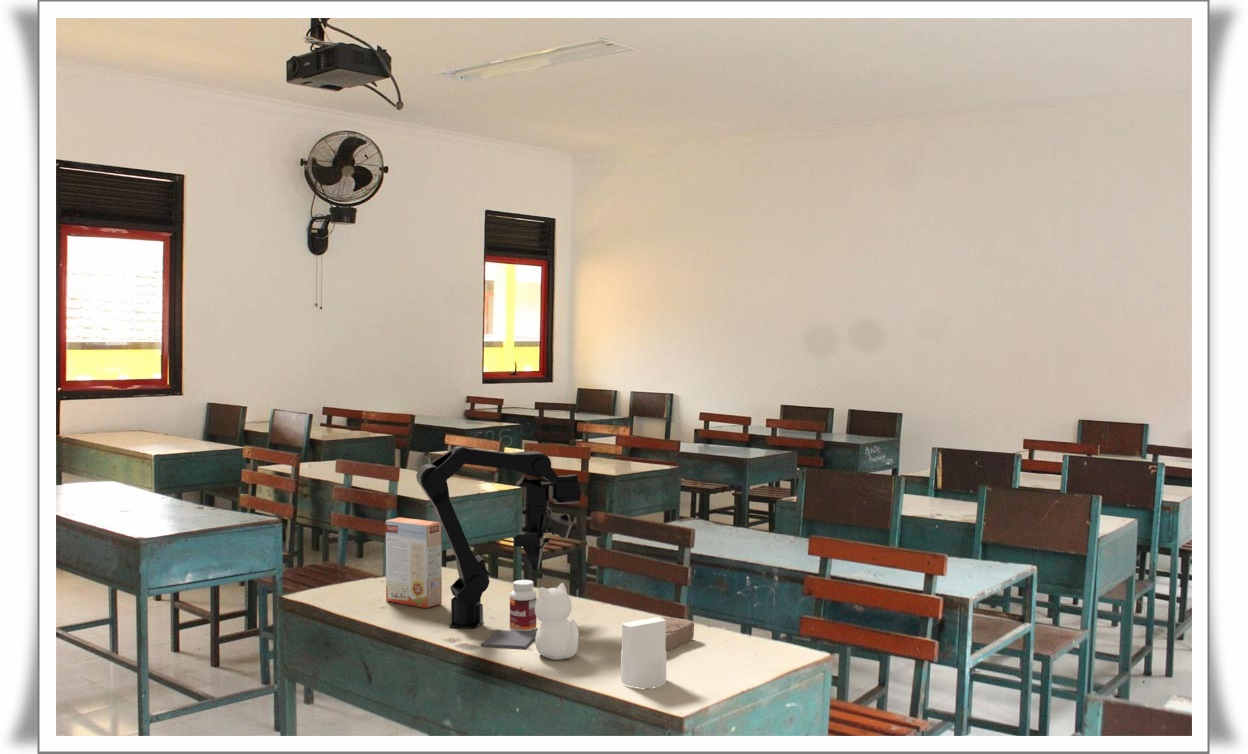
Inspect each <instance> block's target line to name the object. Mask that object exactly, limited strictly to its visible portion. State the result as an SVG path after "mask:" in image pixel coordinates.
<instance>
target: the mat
mask: <svg viewBox="0 0 1248 754" xmlns="http://www.w3.org/2000/svg"><path fill="white" fill-rule="evenodd" d="M536 633H537V631H530V632H525V631H512V630H503V629H502V630H501V629H500V630H499V629H495V630H493V632H492V633H490V634H489V635H488V636H487V637H486V638H485V639H484V640H483V641H482V642H481V643H480V644H481V645H480V647H482V648H483V647H485V648H489V647H490V648H500V649H501V648H504V649H519V648H521V649H523V650H526V649H527V648H528V647H529V646H530V645H531V643H532V642H533V641H534V640H536V638H535V637H536ZM521 649H520V650H521Z"/></svg>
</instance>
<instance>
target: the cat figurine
mask: <svg viewBox="0 0 1248 754" xmlns="http://www.w3.org/2000/svg"><path fill="white" fill-rule="evenodd" d="M572 610H573V605H572V599H571V598H570V596H569V594H568V593H567V588H566V585H565V583H564V582H561V583H560V584H559V585H558V586H557V587H550V588H545V587H540V588H539V589H538V596H537V601H536V604H535V614H536V619H537V620H539V621H540V622H541V623H540V625H539V627H538V629H537V630H536V632H537V633H536V638H535V648H536V650H537V653H538V654H540V655H541V656H542V657H545V658H548V659H550V660H556V661H561V660H565V659H570V658H572V657H573V656H575V655H576V654H577V651H578V647H579V628H578V624H577V622H576V620H575V619H571V620H568V618H569V617H570V615H571V613H572Z"/></svg>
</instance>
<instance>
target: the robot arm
mask: <svg viewBox="0 0 1248 754" xmlns="http://www.w3.org/2000/svg"><path fill="white" fill-rule="evenodd" d="M465 465H470V466H472V465H473V466H480V467H490V468H497V469H505V470H512V471H515V472H518V473H521V474H524V475H522V476H521V477H520V479H518V481H516V483H515V485H516V486H518V487H520V488H524V499H523V500H524V501H523V502H524V508H523V509H522V510H521V514H522V515H523V519H524V520H523V522H524V523H523V526H521V531H520V532H519V533H518V534H516V535H515V537H513V546H514V547H522V548H523V551H524V552H525V554H526V557H527V559H528V561H529V564H530V565H531V568H532V570H533V571H538V570H539V568H540V564H541V560H542V556H543V551H544V548H545V546H546V545H547V544H548V543H549V542H550V541H552V538H551V537H550V538H548V537H546V535H545V534H548V533H551V535H553V536H555V535H557V536H559V537H560V538H562V539H565V538H567V537H568V536H569V534H570V532H571V529H572V527H573V521H571V516H570V514H568V513H566V512H565V513H563V514H562V515H560V516H559V515H554V514H552V509H551V507H549V499H550V500H551V501H553V503H554V504H555V505H560V504H561V505H563V504H577V503H580V501H581V497H582V490H581V486H580V482H579V476H578V475H577V474H568V475H558V474H557V473H556V472H555V471H554V469H553V468H552V461H551V459H550V457H549V456H548V455H546V454H545V453H542V452H539V451H537V450H523V451H518V452H517V451H516V452H506V451H505V452H504V451H498V450H489V449H481V448H475V447H466V446H462V445H456V446H454V447H452V448H451V450H449V451H448V452H446V453H445V454H443V455H442V456H441V455H440V457H439V458H437V459H435V460H433V461H432V462H431V463H426V464H423V465H422V466H421V467H419V468H418V470H417V471H416V474H415V475H416V476H415V477H416V481H417V483H418V485H419V486H420V488H421V489H422V490H423V492H424V494H425V495H426V497H427V498H428V500H429V501H430V502H431V504H432V505H433V508H434V510H435V512H436V514H437V517H438V520H439V522H441V527H442V529H443V530H444V533H445V535H446V537H447V540H448V542H449V544H450V547H451V549H452V551H453V554H454V557H455V561H456V568H457V573H458V578H457V579H456V580H455V581H454V583H452V585H450V588H449V589H450V590H451V594H452V596H453V598H451V600H450V601H451V603H450V611H451V612H450V614H451V615H450V619H451V620H450V621H451V622H450V623H449V624H448V627H449V628H461V629H476V628H478V627H479V626H481V624H482V623H483V622H484V605H483V604H482V601H481V600H482V597H483V596H482V595H483V593H484V592H485V591H486V590H487V589H488V588H489V585H490V578H489V576H491V575H492V574H491V573H490V572H489V570H488V569H487V566H486V562H485V559H484V558H483V557H482V556H481V555H480V554H476V555H474V553H473V552H472V549H471V546H470V544H469V542H468V539H467V538H466V534H465V533H464V530H463V528H462V526H461V524H460V521H459V518H458V515H457V514H456V511H455V509H454V506H453V504H452V502H451V500H450V499H451V498H450V492H449V491H450V490H449V484H448V479H450V478H451V477H453V475H454V474H456V472H458V470H460V468H462V467H463V466H465ZM525 475H526V476H525ZM527 476H530V477H534V478H528V477H527ZM539 478H540V479H539ZM541 478H543V479H544V480H547V481H541Z"/></svg>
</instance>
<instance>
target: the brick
mask: <svg viewBox="0 0 1248 754" xmlns="http://www.w3.org/2000/svg"><path fill="white" fill-rule="evenodd" d="M661 618H662V619H664V620H666V648H665V650H666V653H668V652H670V651H671V650H674V649H676V648H678V647H681V646H683V645H685V644H687V643H689V642H690V641H692V640H693V638H694V634H695V622H694V621H692V620H690V619H684V618H678V617H675V618H674V617H667V616H662V617H661ZM682 644H683V645H682ZM680 645H681V646H680Z"/></svg>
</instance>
